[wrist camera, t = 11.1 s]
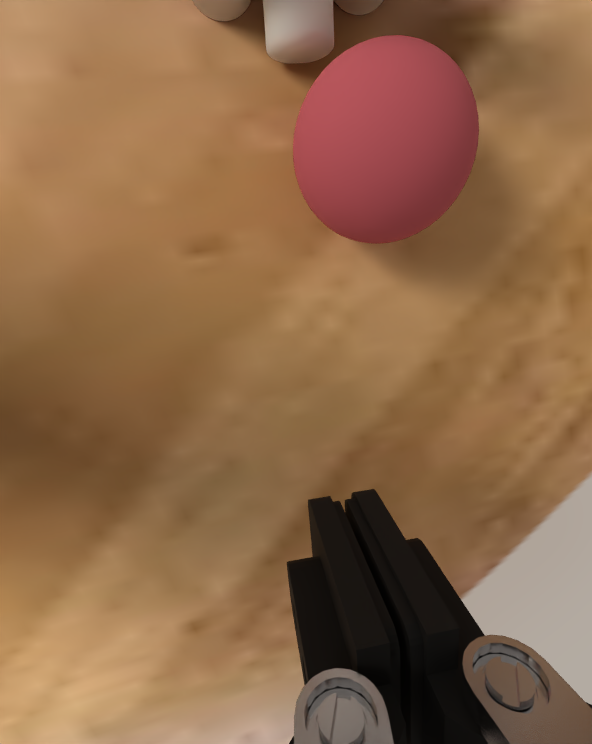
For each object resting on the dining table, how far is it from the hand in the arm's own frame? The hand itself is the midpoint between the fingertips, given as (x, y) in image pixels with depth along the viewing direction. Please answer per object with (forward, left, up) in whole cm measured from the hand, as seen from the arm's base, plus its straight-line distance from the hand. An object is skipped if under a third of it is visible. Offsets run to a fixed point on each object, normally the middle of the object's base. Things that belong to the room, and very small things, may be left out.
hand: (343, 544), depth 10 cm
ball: (+10, +5, -6) cm, 12 cm away
